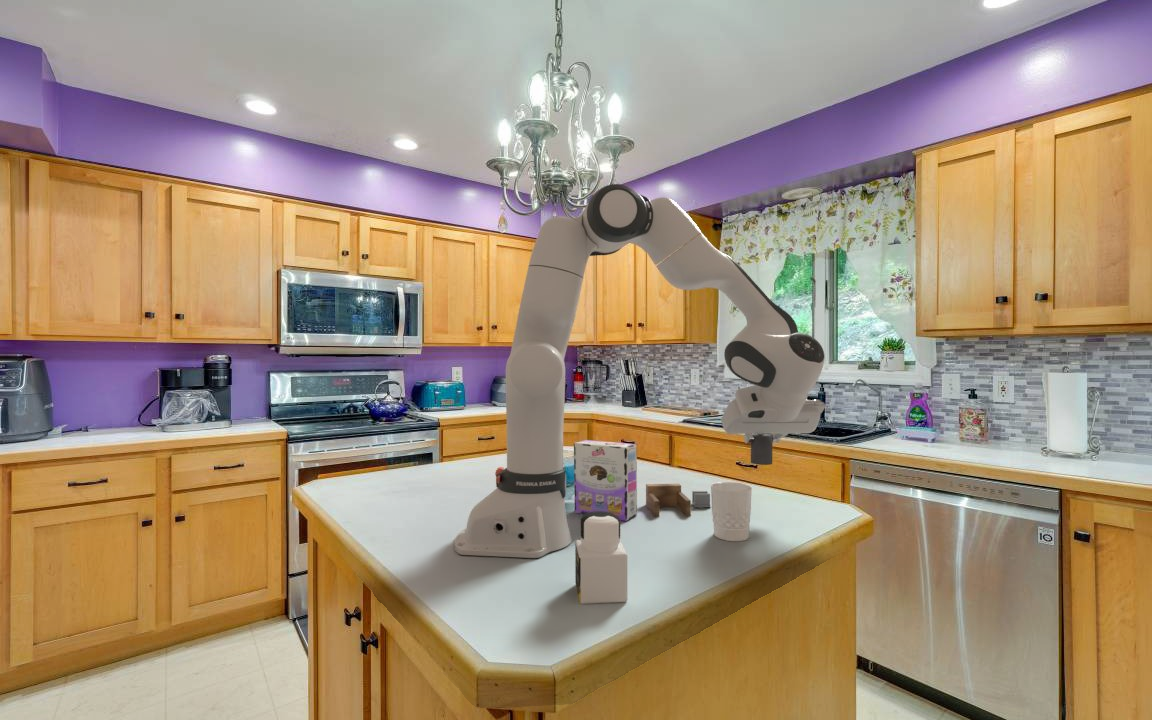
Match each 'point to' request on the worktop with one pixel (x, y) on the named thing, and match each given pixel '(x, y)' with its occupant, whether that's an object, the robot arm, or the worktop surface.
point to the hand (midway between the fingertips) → (760, 440)
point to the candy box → (605, 478)
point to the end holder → (666, 498)
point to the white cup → (731, 510)
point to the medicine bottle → (600, 560)
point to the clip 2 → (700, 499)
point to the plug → (761, 449)
